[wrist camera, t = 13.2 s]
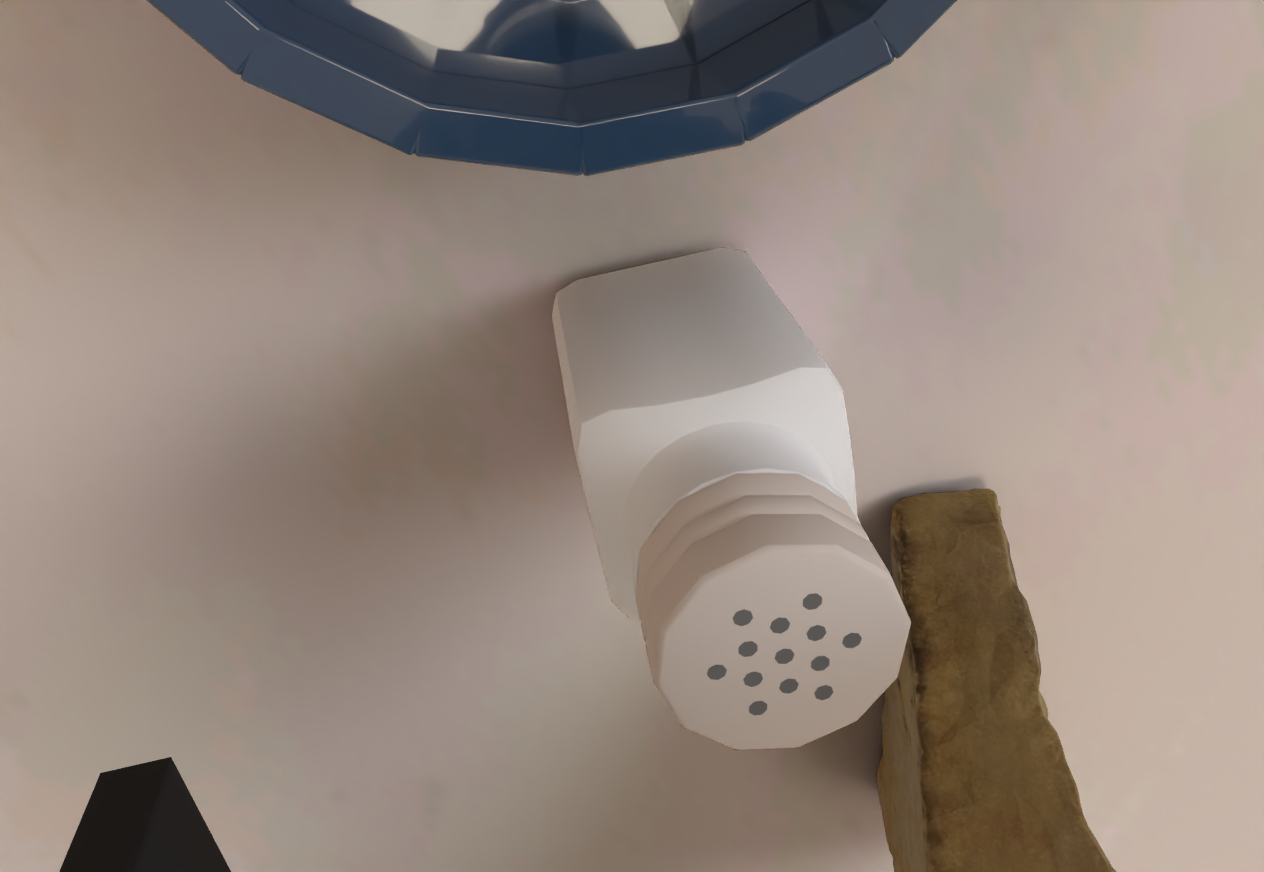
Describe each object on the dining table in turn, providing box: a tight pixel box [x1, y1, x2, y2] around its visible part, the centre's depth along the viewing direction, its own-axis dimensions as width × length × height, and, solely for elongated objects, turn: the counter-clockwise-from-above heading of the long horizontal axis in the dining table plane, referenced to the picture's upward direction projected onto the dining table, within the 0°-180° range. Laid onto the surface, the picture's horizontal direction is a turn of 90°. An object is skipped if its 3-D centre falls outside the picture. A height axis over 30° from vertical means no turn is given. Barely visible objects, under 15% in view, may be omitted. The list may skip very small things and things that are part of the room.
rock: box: [877, 489, 1116, 872], centre depth 23 cm, size 11×9×10 cm
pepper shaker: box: [552, 247, 911, 750], centre depth 17 cm, size 4×4×10 cm
